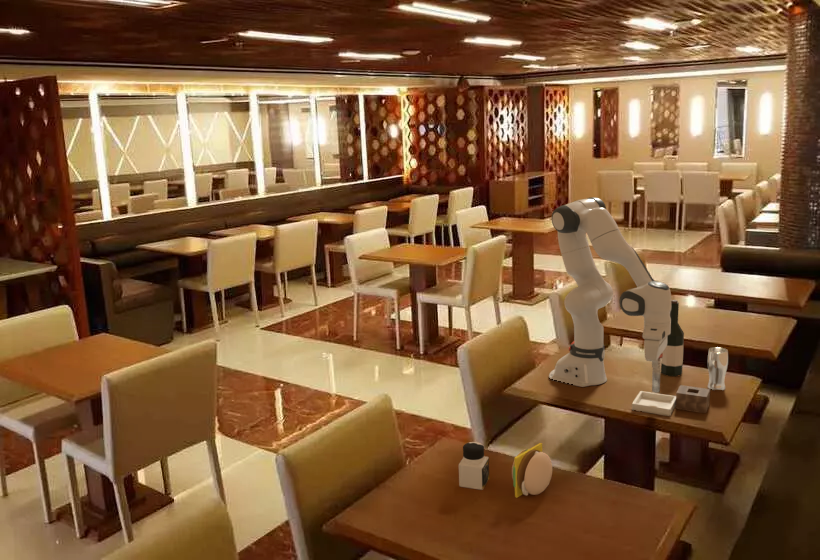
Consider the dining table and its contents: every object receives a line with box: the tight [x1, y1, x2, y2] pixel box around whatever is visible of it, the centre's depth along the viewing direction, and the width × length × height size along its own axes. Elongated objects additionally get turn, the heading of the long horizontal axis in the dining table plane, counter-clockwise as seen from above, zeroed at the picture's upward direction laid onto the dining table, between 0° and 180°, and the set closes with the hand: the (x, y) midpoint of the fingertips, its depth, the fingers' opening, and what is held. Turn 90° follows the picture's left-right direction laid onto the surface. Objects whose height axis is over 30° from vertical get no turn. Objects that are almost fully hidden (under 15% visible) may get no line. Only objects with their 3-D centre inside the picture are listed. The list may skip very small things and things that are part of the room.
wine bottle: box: [660, 299, 685, 377], centre depth 283 cm, size 8×8×30 cm
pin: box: [651, 353, 663, 394], centre depth 251 cm, size 4×4×14 cm
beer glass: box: [707, 346, 729, 391], centre depth 267 cm, size 7×7×15 cm
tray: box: [631, 390, 676, 417], centre depth 254 cm, size 13×13×2 cm
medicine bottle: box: [458, 441, 490, 491], centre depth 206 cm, size 7×7×12 cm
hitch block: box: [675, 384, 711, 414], centre depth 252 cm, size 10×8×6 cm
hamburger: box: [511, 442, 553, 498], centre depth 200 cm, size 12×8×12 cm
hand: (656, 365), depth 251 cm, fingers closed on pin, 3 cm apart
